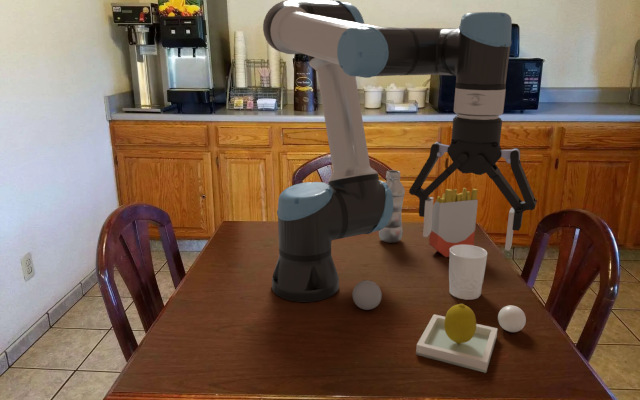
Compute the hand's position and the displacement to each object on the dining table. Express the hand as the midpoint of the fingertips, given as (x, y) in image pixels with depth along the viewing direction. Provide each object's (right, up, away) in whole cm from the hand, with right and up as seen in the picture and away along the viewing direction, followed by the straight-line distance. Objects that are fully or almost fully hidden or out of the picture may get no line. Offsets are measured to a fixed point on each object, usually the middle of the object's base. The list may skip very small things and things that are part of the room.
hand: (466, 241), depth 87 cm
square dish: (0, -20, +6) cm, 20 cm away
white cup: (+7, -14, +26) cm, 30 cm away
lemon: (0, -19, +6) cm, 20 cm away
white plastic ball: (+12, -18, +11) cm, 24 cm away
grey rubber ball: (-15, -16, +19) cm, 29 cm away
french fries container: (+10, -7, +48) cm, 50 cm away
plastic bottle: (-5, -5, +56) cm, 57 cm away
